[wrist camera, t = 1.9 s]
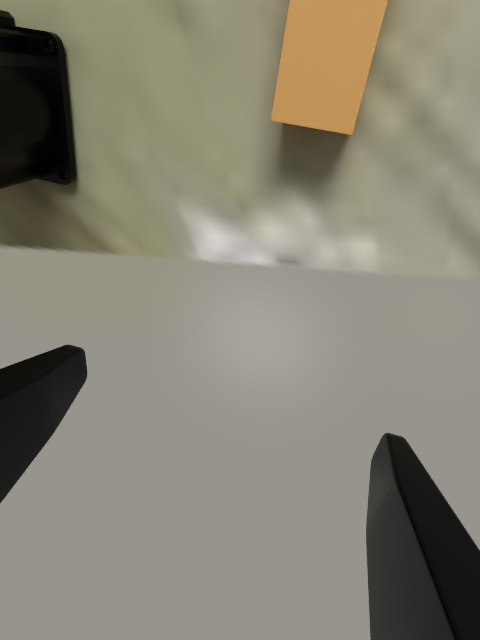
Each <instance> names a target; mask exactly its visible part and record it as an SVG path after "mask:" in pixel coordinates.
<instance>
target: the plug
mask: <svg viewBox="0 0 480 640" xmlns="http://www.w3.org/2000/svg"><path fill="white" fill-rule="evenodd" d="M387 2H388V0H290V2H289V8H288V15H287V21H286V27H285V33H284V40H283V46H282V52H281V58H280V65H279V71H278V77H277V84H276V90H275V96H274V102H273V109H272V115H271V121H276V122H282V123H287V124H293V125H299V126H304V127H310V128H315V129H321V130H327V131H332V132H338V133H343V134H349V135H352V133H353V129H354V126H355V122H356V118H357V114H358V111H359V107H360V103H361V99H362V96H363V92H364V88H365V84H366V81H367V77H368V73H369V70H370V66H371V62H372V58H373V55H374V51H375V47H376V43H377V40H378V36H379V32H380V28H381V25H382V21H383V17H384V13H385V10H386V6H387Z"/></svg>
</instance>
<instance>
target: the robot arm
mask: <svg viewBox="0 0 480 640" xmlns="http://www.w3.org/2000/svg"><path fill="white" fill-rule="evenodd" d="M49 41H51V42H52V44H53V50H52V51H51V50H50V48H49ZM63 170H64V171H65V172H66V175H67V178H66V177H65V176H64V175H63ZM75 177H76V173H75V163H74V152H73V141H72V131H71V120H70V109H69V98H68V88H67V77H66V66H65V56H64V47H63V43H62V41H61V39H60V37H59V36H58V35H57V34H54V33H52V32H46V31H40V30H34V29H27V28H21V27H16V26H15V19H14V18H13V17H12V15H11V14H10V13H9V12H6V11H2V10H0V189H2V188H5V187H9V186H12V185H16V184H19V183H23V182H26V181H30V180H33V179H40V180H45V181H49V182H54V183H59V184H63V185H67V184H70V183H72V182H74V180H75ZM86 378H87V366H86V358H85V351H84V350H83V349H82V348H80V347H76V346H72V345H65V346H62V347H59V348H56V349H54V350H51V351H48V352H46V353H43V354H40V355H37V356H34V357H32V358H29V359H26V360H24V361H21V362H18V363H15V364H13V365H10V366H7V367H5V368H2V369H0V503H1V502H2V500H3V499H4V498H5V497H6V495H7V494H8V493H9V491H10V490H11V489H12V487H13V486H14V485H15V483H16V482H17V481H18V480H19V478H20V477H21V476H22V474H23V473H24V472H25V470H26V469H27V468H28V466H29V465H30V464H31V462H32V461H33V460H34V458H35V457H36V456H37V455H38V453H39V452H40V451H41V449H42V448H43V447H44V445H45V444H46V443H47V441H48V440H49V439H50V437H51V436H52V435H53V433H54V432H55V430H56V429H57V427H58V426H59V424H60V422H61V421H62V419H63V417H64V416H65V414H66V412H67V411H68V409H69V407H70V406H71V404H72V402H73V401H74V399H75V398H76V396H77V394H78V392H79V391H80V389H81V388H82V386H83V384H84V383H85V381H86ZM366 544H367V567H368V590H369V611H370V612H369V613H370V637H371V640H480V550H479V549H478V547H477V546H476V544H475V543H474V541H473V540H472V538H471V537H470V535H469V534H468V532H467V531H466V529H465V528H464V526H463V525H462V523H461V522H460V520H459V519H458V517H457V516H456V514H455V513H454V511H453V510H452V508H451V507H450V505H449V504H448V502H447V501H446V499H445V498H444V496H443V495H442V493H441V492H440V490H439V489H438V487H437V486H436V484H435V483H434V481H433V480H432V479H431V477H430V475H429V474H428V472H427V471H426V469H425V468H424V466H423V465H422V463H421V462H420V460H419V459H418V457H417V456H416V454H415V453H414V451H413V450H412V448H411V447H410V445H409V444H408V442H407V441H406V439H405V438H403V437H401V436H398V435H394V434H391V433H385V434H384V435H383V436H382V438H381V440H380V443H379V444H378V446H377V448H376V450H375V453H374V455H373V457H372V461H371V469H370V483H369V497H368V510H367V525H366Z"/></svg>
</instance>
